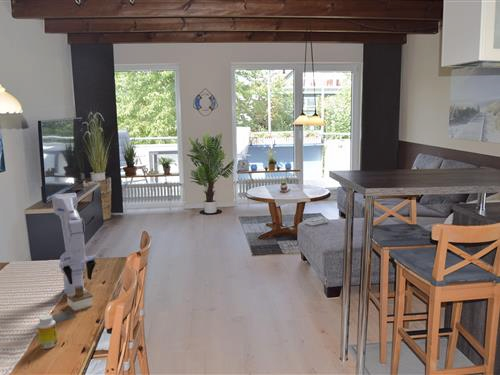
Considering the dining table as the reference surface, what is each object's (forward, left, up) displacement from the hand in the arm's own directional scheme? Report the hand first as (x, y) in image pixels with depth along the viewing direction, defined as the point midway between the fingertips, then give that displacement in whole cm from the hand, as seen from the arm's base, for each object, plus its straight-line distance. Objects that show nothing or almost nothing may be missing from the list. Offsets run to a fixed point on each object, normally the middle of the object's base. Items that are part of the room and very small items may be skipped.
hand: (80, 281), depth 185 cm
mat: (+6, -10, -10) cm, 15 cm away
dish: (0, -1, -10) cm, 10 cm away
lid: (0, -1, -6) cm, 6 cm away
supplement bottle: (+25, -21, -11) cm, 34 cm away
